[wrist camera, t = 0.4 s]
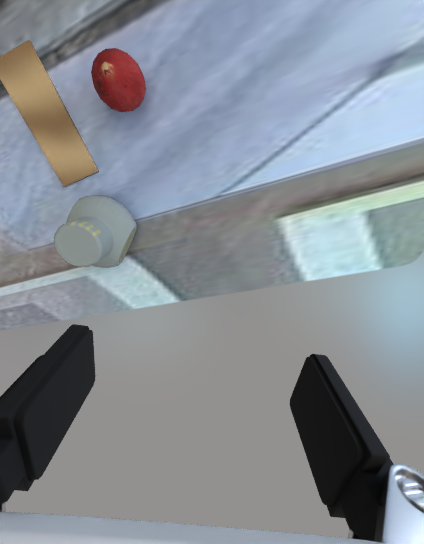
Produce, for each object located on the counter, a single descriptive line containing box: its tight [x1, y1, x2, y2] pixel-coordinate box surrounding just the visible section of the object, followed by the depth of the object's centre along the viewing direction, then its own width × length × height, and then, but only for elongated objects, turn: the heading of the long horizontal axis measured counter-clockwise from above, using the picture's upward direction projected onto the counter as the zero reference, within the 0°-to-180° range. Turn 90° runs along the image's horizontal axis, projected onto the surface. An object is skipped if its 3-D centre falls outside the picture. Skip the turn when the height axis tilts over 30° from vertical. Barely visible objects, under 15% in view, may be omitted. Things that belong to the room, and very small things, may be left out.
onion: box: [91, 48, 146, 112], centre depth 27 cm, size 6×6×8 cm
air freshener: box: [54, 195, 137, 268], centre depth 34 cm, size 11×8×10 cm
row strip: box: [0, 40, 99, 187], centre depth 32 cm, size 16×6×1 cm, turn 21°
